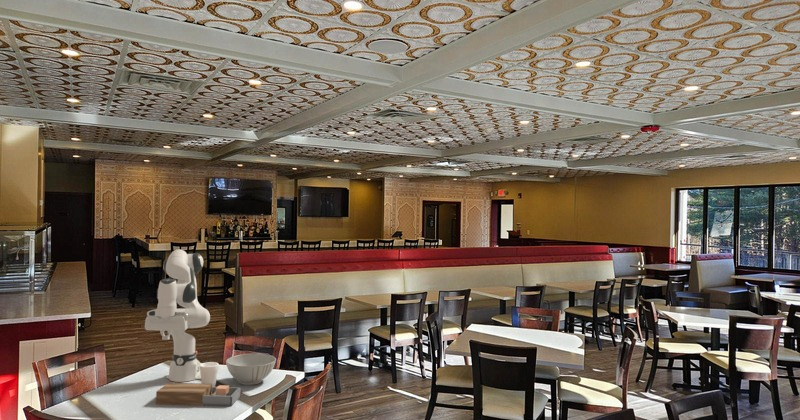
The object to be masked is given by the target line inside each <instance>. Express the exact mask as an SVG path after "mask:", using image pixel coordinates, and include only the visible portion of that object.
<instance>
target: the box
mask: <svg viewBox="0 0 800 420" xmlns="http://www.w3.org/2000/svg"><path fill="white" fill-rule="evenodd" d="M217 387H218V386H215V387H212V394H214V393H215V392H216V388H217ZM240 397H241V387H236V386H233V387H231V386H229V392H228V393H227V394H226V396H212V395H203V404H202V406H208V407H209V406H214V407H219V406H220V407H232V406H233V405H234V404H235V403H236V402H237V401H238V400H239V399H240Z"/></svg>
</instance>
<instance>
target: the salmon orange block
mask: <svg viewBox="0 0 800 420" xmlns="http://www.w3.org/2000/svg"><path fill="white" fill-rule="evenodd" d="M216 387H217V388H216V395H226V394H227V393H228V392H229V387H230V385H228V384H227V385H224V384H223V385H221V384H219V385H218V386H216Z"/></svg>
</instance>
